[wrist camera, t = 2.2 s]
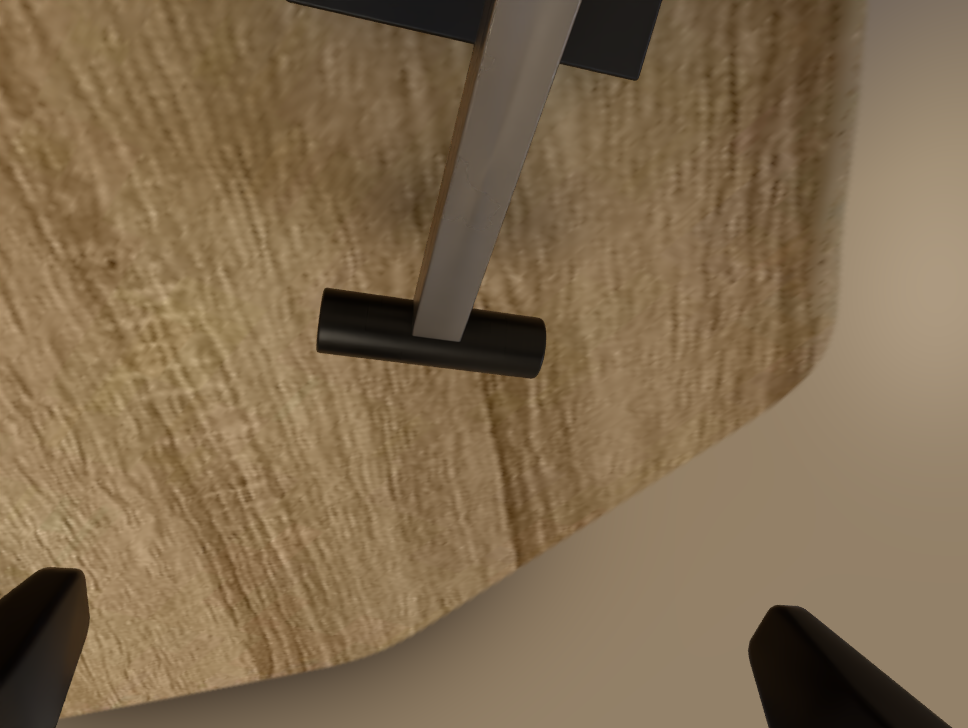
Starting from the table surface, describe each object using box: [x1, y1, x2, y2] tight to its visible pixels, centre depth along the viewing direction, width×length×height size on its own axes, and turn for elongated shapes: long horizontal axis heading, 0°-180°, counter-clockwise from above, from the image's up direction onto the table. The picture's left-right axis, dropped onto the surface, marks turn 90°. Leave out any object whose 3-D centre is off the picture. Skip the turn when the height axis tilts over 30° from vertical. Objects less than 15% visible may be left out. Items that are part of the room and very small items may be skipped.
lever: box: [316, 0, 582, 379], centre depth 10 cm, size 14×5×2 cm, turn 168°
